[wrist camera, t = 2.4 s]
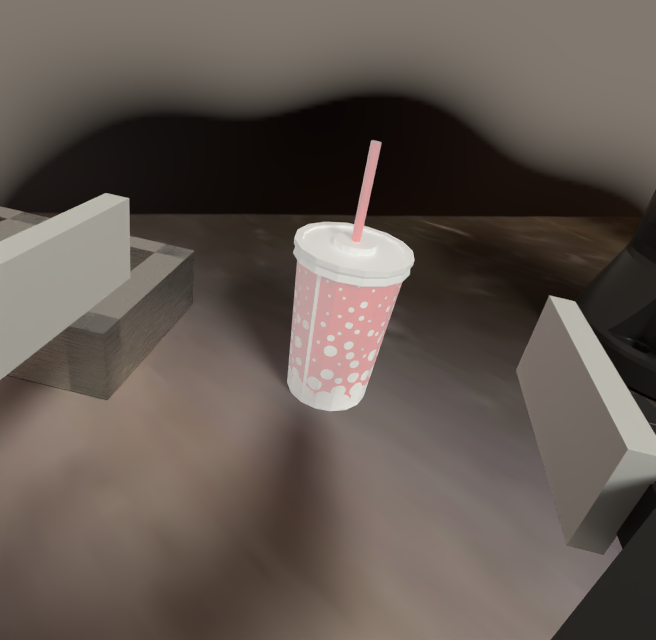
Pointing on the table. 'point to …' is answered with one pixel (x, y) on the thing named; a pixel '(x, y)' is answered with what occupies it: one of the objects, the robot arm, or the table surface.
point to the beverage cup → (342, 303)
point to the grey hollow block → (112, 318)
